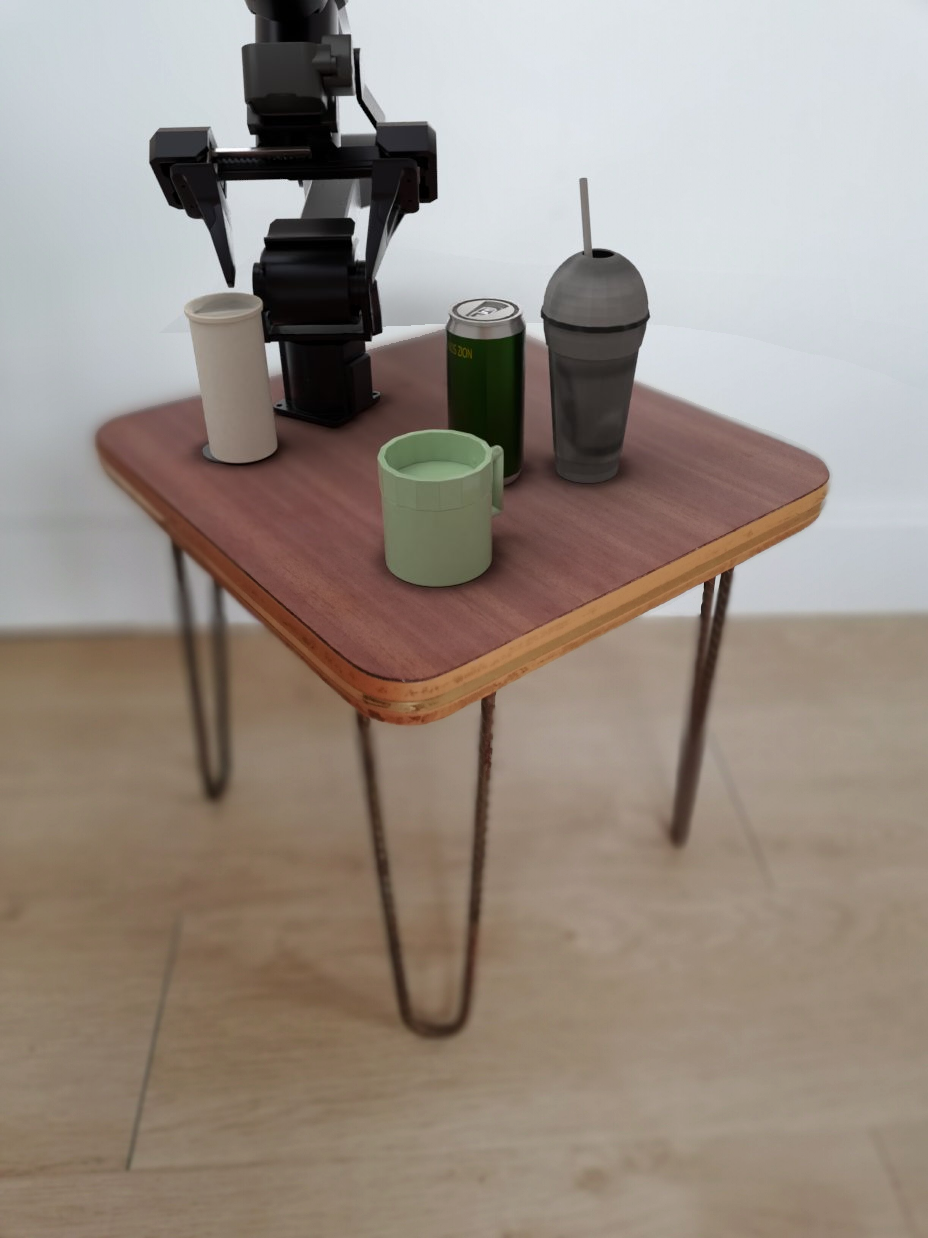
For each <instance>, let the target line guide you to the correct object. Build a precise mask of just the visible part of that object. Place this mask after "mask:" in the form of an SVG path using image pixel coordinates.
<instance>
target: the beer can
mask: <svg viewBox="0 0 928 1238" xmlns="http://www.w3.org/2000/svg"><path fill="white" fill-rule="evenodd" d="M447 313H448V318H447V320H446V323H445V325H444V331H445V332H444V333H445V367H446V369H445V370H446V374H445V375H446V402H447V403H446V405H447V407H446V409H447V411H446V412H447V430H455V431H459V432H464V433H468V434H472V435H474V436H476V437H478V438H480V439H482V440H484V441H486V442H487V444H488V445H489V447H492V446H494V445H498V446H500V447H502V449H503V452H504V464H503V487H505V486H508V485H509V484H511V483H513V482H515V481H516V480H517V479H518V478H519V477H520V474H521V472H522V470H523V467H524V463H525V461H524V460H525V416H526V415H525V412H526V410H525V409H526V406H525V405H526V357H527V356H526V355H527V354H526V352H527V351H526V350H527V348H526V347H527V322H526V321H525V318H524V316H523V314H524V309H523V307H522V305H521V304H519V303H518V302H517V301H513V300H510V299H507V298H501V297H491V296H489V297H488V296H487V297H486V296H483V297H471V298H466V299H463V300H460V301H456V302H454V303H453V304H451V305H450V306H449V308H448V312H447Z"/></svg>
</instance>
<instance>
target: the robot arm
mask: <svg viewBox="0 0 928 1238" xmlns="http://www.w3.org/2000/svg"><path fill="white" fill-rule="evenodd" d="M244 3H245V5H246V7H247V10H249V12H250V14H252V15H254V42H251V43H246V44H244V45H242V47H241V64H242V79H243V80H242V81H243V98H244V104H245V105H246V126H247V129H248V133H249V135H250V136H255V139H254V140H255V142H254V143H255V146H246V147H245V146H244V147H243V146H240V147H239V146H238V147H219V146H218V144H217V141H216V138H215V135H214V133H213V130H212V127H211V126H179V127H178V126H177V127H176V126H175V127H172V126H171V127H159V128H158V129H157V130H156V131H155V132H154V134H153V135H152V136H151V137H150V139H149V141H148V142H149V146H148V149H149V150H148V164H149V166H150V168H151V170H152V172H153V175H154V176H155V179H156V181H157V183H158V185H159V187H160V189H161V191H162V193H163V197H164V198H165V200H166V202H167V204H168V206H169V207H171V208H174V209H176V210H179V211H180V210H182V211H183V210H184V211H185V214H186V216H187V217H188V218H190V219H192V220H202V221H203V223H204V224H205V227H206V228H207V230H208V233H209V235H210V238H211V241H212V244H213V247H214V250H215V253H216V256H217V259H218V263H219V266H220V268H221V271H222V274H223V277H224V281H225V283H226V285H227V287H228V289H234V288H235V284H236V274H237V268H236V257H235V246H234V245H235V244H234V234H233V224H232V223H233V222H232V212H231V209H230V206H229V204H228V201H227V198H228V191H227V190H228V183H227V182H243V181H275V180H277V181H279V180H287V181H288V182H289V181H290V182H297V184H298V187H299V189H303V195H304V201H303V204H302V208H301V211H300V214H299V217H298V218H297V217H295V218H293V217H292V218H275V219H273V221H271V222H270V223H269V226H268V231H267V235H266V236H264V237H263V244H264V247H263V248H262V250H261V252H260V257H259V261H254V262H253V264H252V271H251V288H252V295H255V296H257V297H259V298H260V299H261V300H262V302H263V310H262V311H261V317H262V325H263V333H264V341H265V344H271V343H278V351H279V352H278V353H279V359H280V368H281V376H282V384H283V393H284V398H282V399H281V400H279V401H278V402H276V403H274V404H272V405H273V413H276V414H281V415H285V416H289V417H292V418H296V419H300V420H304V421H308V422H313V423H317V424H321V425H325V426H328V427H335V428H337V427H340V426H342V425H343V424H345V423H347V422H348V421H349V420H351V419H353V418H354V417H356V416H358V415H359V414H360V413H362V412H363V411H365V410H366V409H368V408H369V407H371V406H372V405H374V404H376V403H377V402H379V401H380V400H381V397H382V395H381V392H379V391H375V390H373V374H372V361H371V360H372V359H371V354H370V353H369V352H367V347H366V346H367V345H366V343H372V342H373V337H376V336H379V335H380V334H383V332H384V327H383V311H382V304H381V303H382V302H381V296H380V290H379V282H378V280H377V278H376V277H377V274H378V273H379V269H380V266H381V265H382V262H383V259H384V257H385V254H386V251H387V249H388V247H389V245H390V243H391V241H392V238H393V236H394V234H395V233H396V231H397V230H398V228H399V227H400V224H401V223H402V221H403V219H404V218H405V216H406V215H408V214H411V215H412V214H415V213H418V212H419V211H420V204H431V203H433V202H435V201H436V200H438V199H439V190H438V187H439V186H438V185H439V183H438V181H439V180H438V146H437V145H438V144H437V143H438V142H437V130H436V129H435V128H434V127H433V126H432V124H430V122H429V121H427V120H421V121H419V120H418V121H417V120H416V121H387V116H386V115H385V113H384V111H383V109H382V108H381V107H380V105H379V103H378V102H377V100H376V99H375V97H374V95H373V93H372V92H371V91H370V88H368V86H367V84H366V82H365V69H364V58H363V51H362V47H356V46H355V43H354V42H355V41H354V39H353V34H352V30H351V25H350V21H349V17H348V13H347V8H346V5H347V4H349V0H244ZM341 97H356V101H357V104H358V105H359V107H360V108H361V110H362V111H363V113H364V115H365V116H366V117H367V119H368V120H369V122H370V123H371V126H372V127H373V129H374V130H375V131H376V132H350V133H349V132H345V133H344V132H343V133H342V132H341ZM367 208H369V212H368V222H367V232H366V243H365V252H364V253H365V254H364V255H365V256H364V259H362V255H361V254H362V253H361V244H360V242H361V241H360V239H359V238H358V237H357V227H358V222H359V218H360V217H359V216H360V211H361V210H363V209H367Z"/></svg>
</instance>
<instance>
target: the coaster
mask: <svg viewBox="0 0 928 1238" xmlns="http://www.w3.org/2000/svg"><path fill="white" fill-rule="evenodd" d="M202 456H203V457H204V458H205V459H206V460H208V461H209V462H213V463H219V464H228V463H229V462H224V461H221V460H218V459H216V458H215V457H213V456H212V454H211V452H210V446H209V443H207V444H206V445H204V447H203V448H202ZM229 464H230V463H229Z"/></svg>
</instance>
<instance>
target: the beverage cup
mask: <svg viewBox="0 0 928 1238" xmlns="http://www.w3.org/2000/svg"><path fill="white" fill-rule="evenodd" d="M578 183H579V185H578V186H579V197H580V198H579V199H580V211H581V212H580V213H581V227H582V241H583V242H582V243H583V244H582V245H583V250H581V251H578V252H576V253H574V254H572V255H571V256H569V257H568V258H567V259H565V260H564V261H563V262H562V263H561V264H560V265H559V266H558V267H557V268H556V270H555V271H554V272H553V274H552V275H551V276H550V279H549V280H548V283H547V285H546V287H545V291H544V295H543V301H542V302H543V304H542V305H541V308H540V318H541V319H542V323H543V324H542V325H543V334H544V338H545V339H544V340H545V345H546V346H547V353H548V354H547V355H548V368H549V369H548V370H549V374H548V375H549V390H550V391H549V393H550V408H551V409H550V410H551V427H552V428H551V429H552V444H553V445H552V446H553V447H552V448H553V452H554V462H555V472H556V473H557V474H558V475H559V476H560V477H562V478H563V479H565V480H568V481H571V482H575V483H579V484H595V483H596V484H597V483H602V482H605V481H608V480H611V479H612V478H614V477H615V476H616V475H617V473H618V471H619V463H620V458H621V454H622V452H623V446H624V441H625V434H626V430H627V423H628V418H629V412H630V406H631V399H632V394H633V388H634V381H635V378H636V377H635V375H636V370H637V364H638V359H639V352H640V348H641V347H642V345H643V341H644V338H645V335H646V331H647V324H648V321H649V320H650V319H651V314H650V309H649V297H648V292H647V288H646V285H645V282H644V278H643V277H642V275H641V273H640V271H639V270H638V268H637V267H636V265H635V264H633V262H632V261H630V259H628V258H627V257H626V256H624V255H623V254H621V253H619V252H616V251H614V250H611V249H608V248H599V247H597V248H596V247H595V248H593V243H592V242H593V241H592V230H591V229H592V228H591V227H592V226H591V213H590V201H589V183H588V177H580V178H579V179H578Z"/></svg>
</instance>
